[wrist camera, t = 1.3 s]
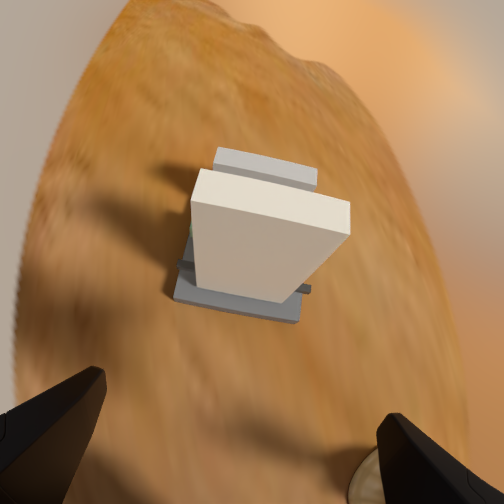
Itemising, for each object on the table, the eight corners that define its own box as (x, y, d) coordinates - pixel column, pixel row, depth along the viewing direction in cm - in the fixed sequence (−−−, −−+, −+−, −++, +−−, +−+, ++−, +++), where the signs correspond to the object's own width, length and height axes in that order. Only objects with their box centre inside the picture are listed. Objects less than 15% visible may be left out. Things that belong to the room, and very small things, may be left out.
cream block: (300, 306, 21) (381, 242, 11) (177, 283, 20) (153, 193, 10) (302, 286, 22) (379, 210, 12) (182, 263, 21) (166, 162, 11)
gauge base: (294, 323, 22) (324, 305, 16) (174, 301, 21) (163, 274, 16) (305, 215, 26) (330, 172, 20) (202, 193, 25) (203, 144, 20)
